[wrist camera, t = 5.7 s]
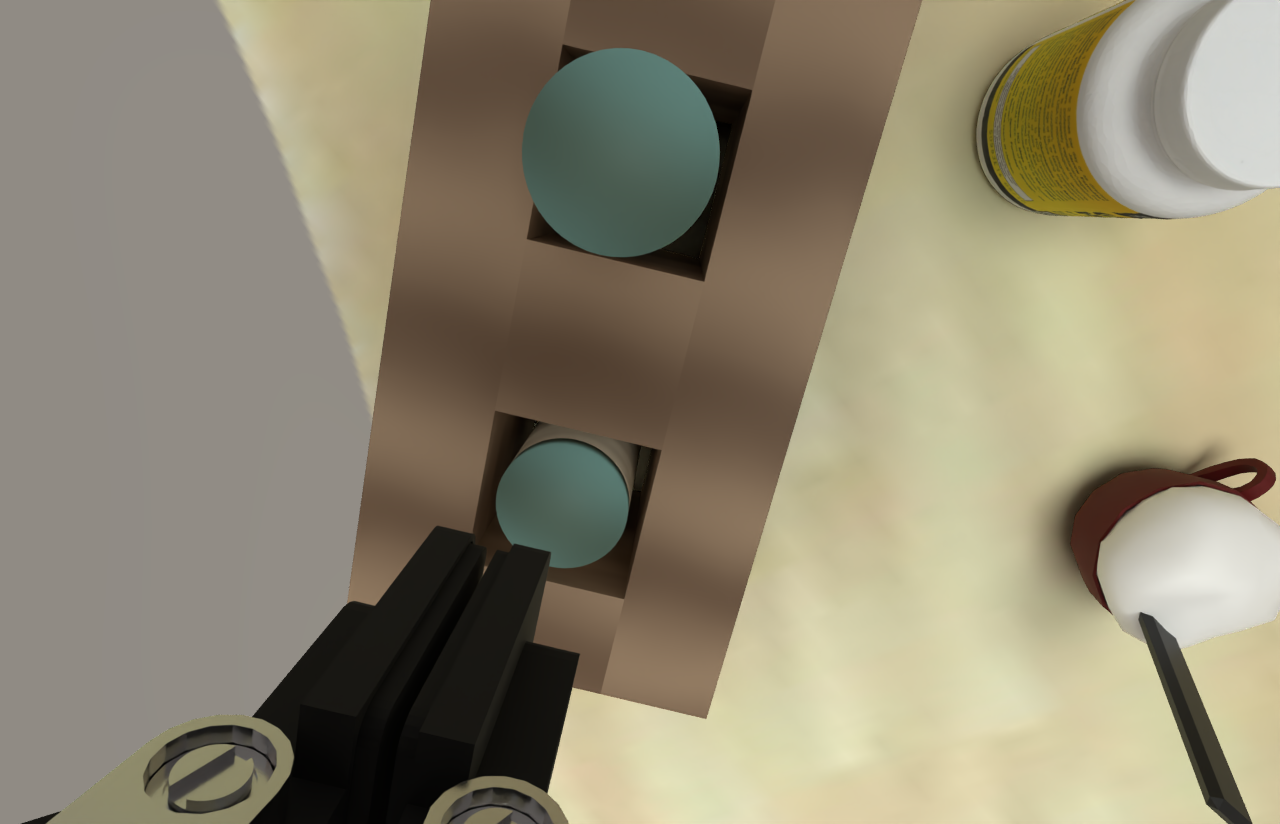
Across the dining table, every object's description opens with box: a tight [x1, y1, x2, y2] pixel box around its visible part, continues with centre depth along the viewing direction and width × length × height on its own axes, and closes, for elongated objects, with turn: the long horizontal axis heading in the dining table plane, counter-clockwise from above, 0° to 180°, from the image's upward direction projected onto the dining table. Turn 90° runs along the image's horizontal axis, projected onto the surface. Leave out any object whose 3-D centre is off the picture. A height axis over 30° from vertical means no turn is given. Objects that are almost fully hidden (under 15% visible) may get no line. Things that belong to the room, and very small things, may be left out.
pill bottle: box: [977, 0, 1280, 219], centre depth 22 cm, size 6×6×11 cm
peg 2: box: [496, 421, 641, 568], centre depth 27 cm, size 4×4×9 cm
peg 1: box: [522, 48, 720, 257], centre depth 20 cm, size 4×4×9 cm
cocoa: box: [1070, 458, 1280, 824], centre depth 26 cm, size 10×6×12 cm, turn 117°
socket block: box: [347, 0, 922, 719], centre depth 26 cm, size 22×12×9 cm, turn 167°
